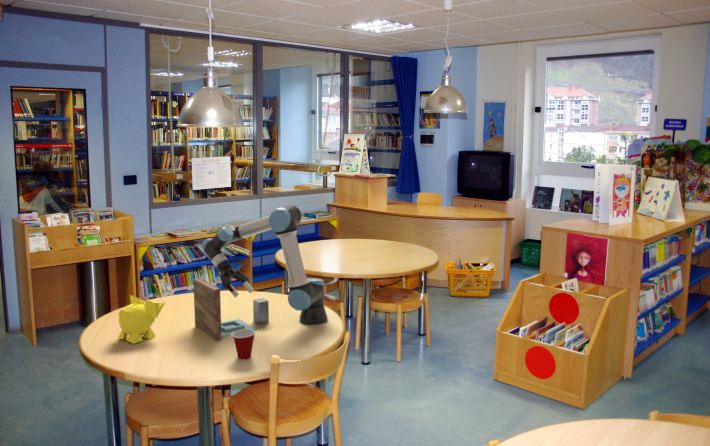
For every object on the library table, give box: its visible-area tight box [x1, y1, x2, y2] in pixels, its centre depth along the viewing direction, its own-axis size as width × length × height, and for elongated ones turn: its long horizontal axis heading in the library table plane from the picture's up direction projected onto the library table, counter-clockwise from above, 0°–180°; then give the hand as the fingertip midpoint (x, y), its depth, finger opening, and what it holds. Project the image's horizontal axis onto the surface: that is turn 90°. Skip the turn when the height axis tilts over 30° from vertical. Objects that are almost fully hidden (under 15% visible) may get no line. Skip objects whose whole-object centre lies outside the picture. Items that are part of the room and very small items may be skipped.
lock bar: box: [252, 297, 270, 325], centre depth 330 cm, size 6×6×12 cm
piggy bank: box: [117, 294, 166, 345], centre depth 305 cm, size 20×20×19 cm
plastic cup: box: [230, 329, 256, 360], centre depth 280 cm, size 11×11×12 cm
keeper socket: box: [221, 318, 257, 338], centre depth 321 cm, size 20×20×2 cm
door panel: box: [192, 277, 223, 341], centre depth 311 cm, size 4×26×26 cm, turn 37°
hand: (244, 293), depth 327 cm, fingers open, 13 cm apart
